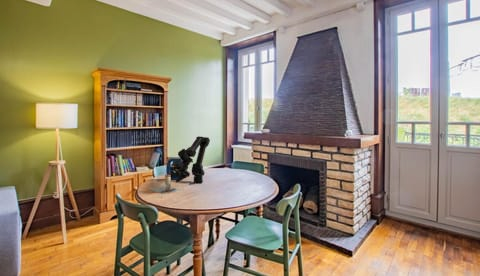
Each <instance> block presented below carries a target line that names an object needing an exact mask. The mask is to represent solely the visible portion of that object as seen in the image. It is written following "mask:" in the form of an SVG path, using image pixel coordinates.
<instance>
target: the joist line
mask: <svg viewBox="0 0 480 276" xmlns="http://www.w3.org/2000/svg"><path fill="white" fill-rule="evenodd" d="M175 188H176V187H174V188H173V189H171V191H173V190H177V189H178V188H177V189H175ZM177 191H178V190H177ZM166 192H169V193H171V192H170V191H166V190H165V191H161V192H158V193H160V194H162V193H165V194H167V193H166ZM173 192H174V191H173Z"/></svg>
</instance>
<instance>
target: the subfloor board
mask: <svg viewBox="0 0 480 276" xmlns="http://www.w3.org/2000/svg"><path fill="white" fill-rule="evenodd" d="M173 188H175V189H177V190H173V191H170V192H166V193H161V194H162V195H165V194H168V193H169V194H170V193H173V192H177V191H180V190H181V188H180V189H179V188H176V187H173V186H171V189H173ZM147 189H148V190H151V191H154V192H157V193H159V192H161V191H165V184H162V185H161V184H160V185H158V186H152V187H149V188H147Z"/></svg>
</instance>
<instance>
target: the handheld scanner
mask: <svg viewBox="0 0 480 276" xmlns="http://www.w3.org/2000/svg"><path fill="white" fill-rule="evenodd" d="M173 161H174V162H182V161H183V160H181V158H180V157H179V156H166V169H165V171H166V175H170V169H169V168H170V167H171V166H172V163H173ZM173 167H175V166H173ZM175 168H176V167H175ZM176 169H177V168H176ZM179 175H180V173H179V172H178V173H177V175H176V176H174V177H173V178H172V179H171V181H176V180H177V179H178V177H179Z"/></svg>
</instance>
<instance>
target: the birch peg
mask: <svg viewBox="0 0 480 276" xmlns="http://www.w3.org/2000/svg"><path fill="white" fill-rule="evenodd" d="M164 181H165V184H164V185H165V190H166V191H171V187H172V185H171V183H172V182H171V181H172V180H171V177H170V175H167V174H165V177H164Z"/></svg>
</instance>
